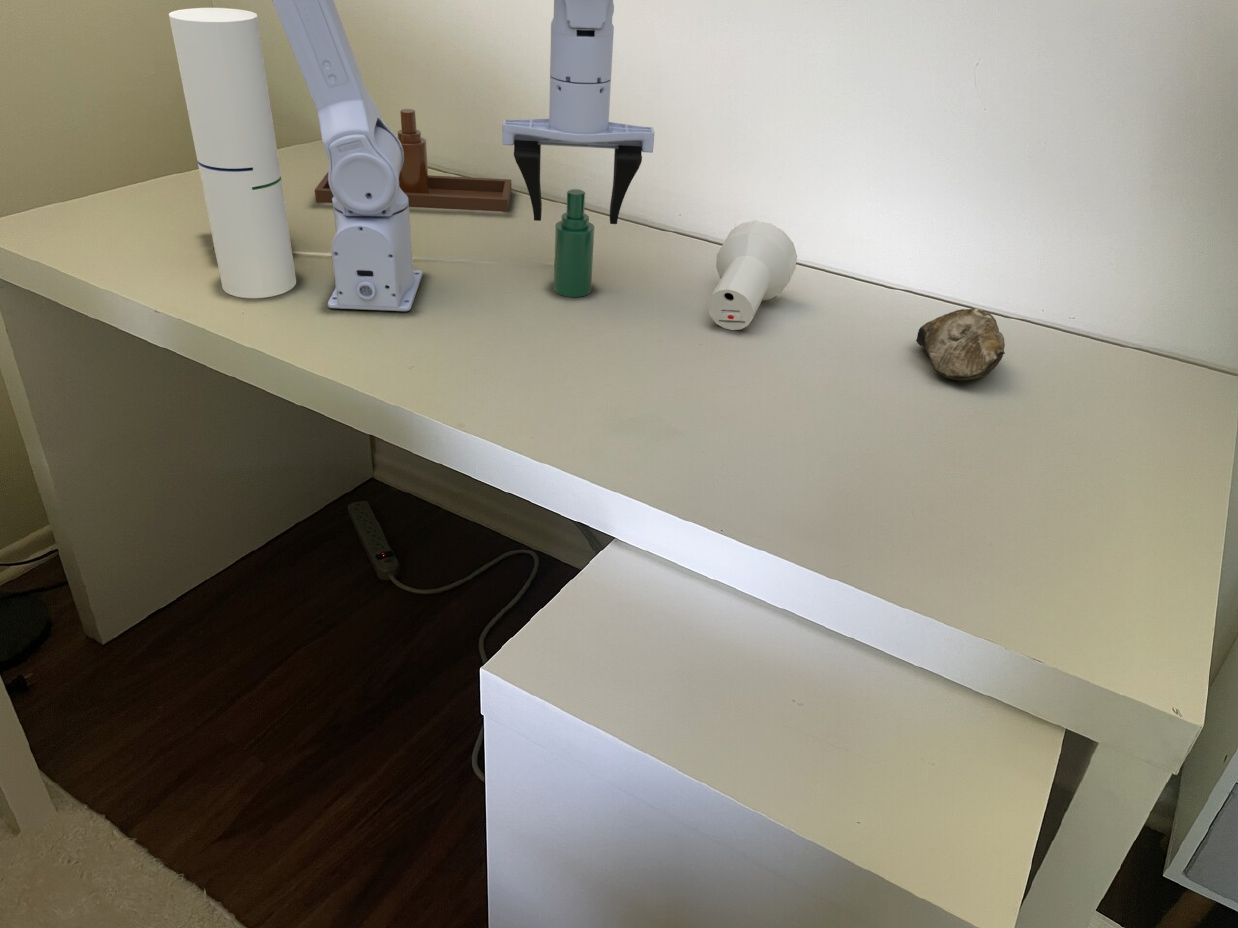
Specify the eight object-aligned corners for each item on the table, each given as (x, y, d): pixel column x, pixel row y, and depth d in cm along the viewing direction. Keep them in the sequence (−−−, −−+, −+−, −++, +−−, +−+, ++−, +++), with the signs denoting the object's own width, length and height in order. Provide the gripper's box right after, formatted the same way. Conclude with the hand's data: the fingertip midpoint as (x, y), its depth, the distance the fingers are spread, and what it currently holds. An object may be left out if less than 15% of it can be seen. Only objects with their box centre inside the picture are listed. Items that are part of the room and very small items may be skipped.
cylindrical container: (218, 274, 94) (166, 8, 80) (290, 266, 97) (251, 8, 83) (226, 302, 89) (171, 22, 75) (301, 293, 92) (262, 22, 78)
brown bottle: (426, 202, 115) (422, 115, 109) (394, 200, 115) (388, 113, 109) (431, 191, 119) (426, 107, 113) (399, 190, 118) (393, 105, 112)
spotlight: (800, 286, 98) (796, 218, 93) (772, 347, 91) (765, 277, 85) (729, 283, 101) (720, 217, 96) (696, 342, 94) (685, 274, 89)
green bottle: (591, 298, 96) (596, 199, 90) (553, 296, 95) (555, 197, 89) (591, 282, 99) (595, 186, 93) (554, 281, 99) (556, 184, 93)
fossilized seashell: (1018, 376, 82) (1005, 346, 90) (996, 308, 80) (985, 284, 89) (933, 403, 85) (929, 371, 93) (910, 338, 83) (908, 311, 92)
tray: (507, 215, 115) (507, 199, 113) (316, 205, 113) (314, 190, 112) (511, 194, 121) (511, 179, 120) (330, 185, 120) (329, 170, 118)
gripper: (654, 72, 89) (644, 209, 96) (505, 64, 88) (506, 202, 96) (660, 89, 83) (648, 233, 91) (500, 80, 82) (501, 226, 90)
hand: (575, 219), depth 93 cm, fingers open, 7 cm apart
